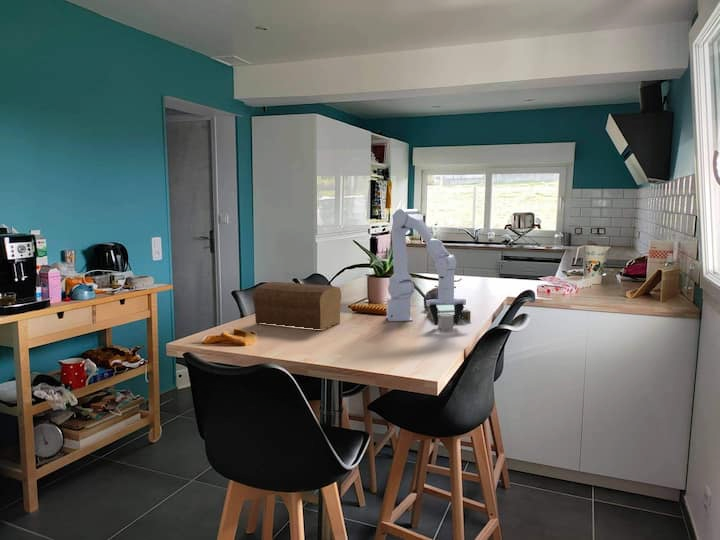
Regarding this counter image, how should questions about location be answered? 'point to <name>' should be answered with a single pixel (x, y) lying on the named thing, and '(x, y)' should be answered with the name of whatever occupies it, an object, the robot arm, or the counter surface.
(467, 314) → the frame
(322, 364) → the counter surface
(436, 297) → the rock
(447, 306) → the trapdoor
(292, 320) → the bread
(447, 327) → the grey block
